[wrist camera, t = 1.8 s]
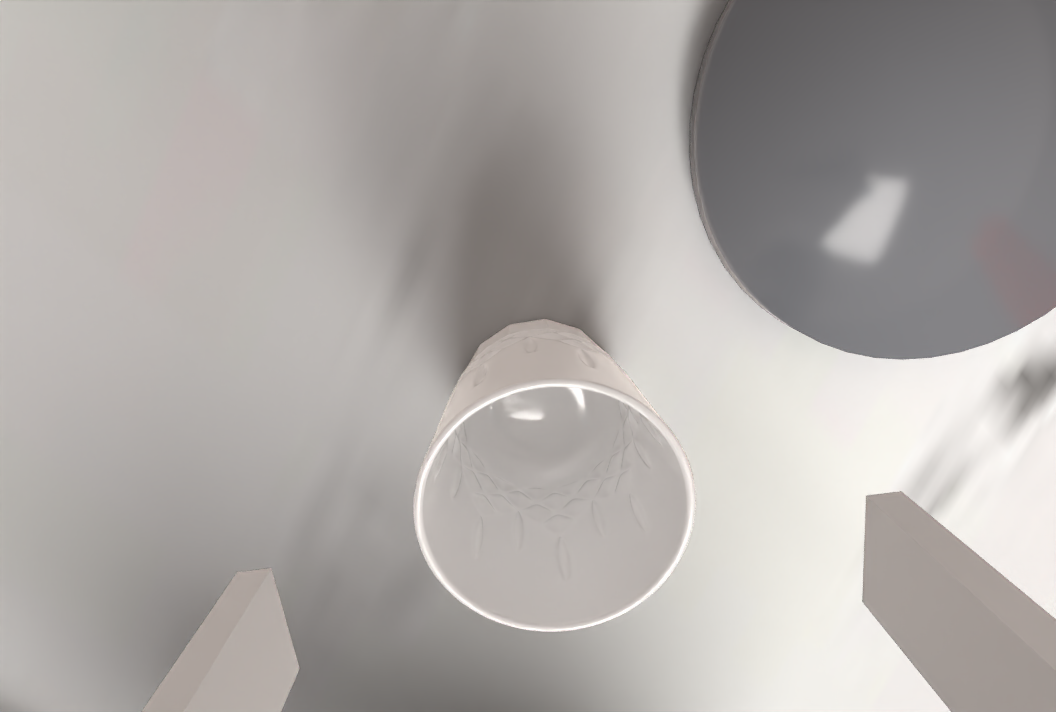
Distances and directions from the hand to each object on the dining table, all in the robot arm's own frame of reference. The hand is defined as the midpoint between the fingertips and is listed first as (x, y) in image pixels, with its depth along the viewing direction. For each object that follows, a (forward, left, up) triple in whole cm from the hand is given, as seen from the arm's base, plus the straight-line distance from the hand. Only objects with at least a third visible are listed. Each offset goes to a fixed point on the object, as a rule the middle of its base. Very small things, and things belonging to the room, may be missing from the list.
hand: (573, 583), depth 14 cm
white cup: (0, 0, -14) cm, 14 cm away
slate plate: (+9, -16, -14) cm, 23 cm away
